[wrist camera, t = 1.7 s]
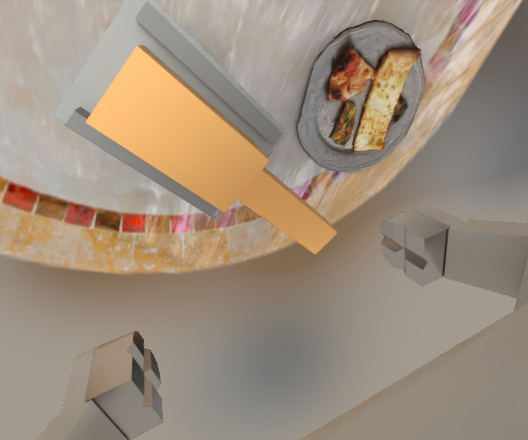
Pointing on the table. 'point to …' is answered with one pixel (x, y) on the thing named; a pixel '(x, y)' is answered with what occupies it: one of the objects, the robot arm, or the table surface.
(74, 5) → the table surface
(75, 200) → the table surface
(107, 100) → the lever
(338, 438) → the robot arm
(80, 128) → the tall grey bin
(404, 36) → the food plate
